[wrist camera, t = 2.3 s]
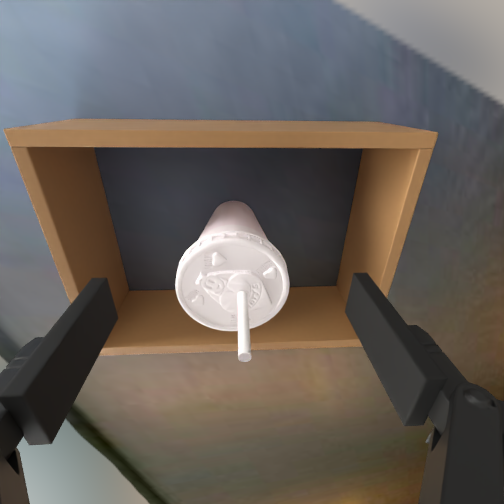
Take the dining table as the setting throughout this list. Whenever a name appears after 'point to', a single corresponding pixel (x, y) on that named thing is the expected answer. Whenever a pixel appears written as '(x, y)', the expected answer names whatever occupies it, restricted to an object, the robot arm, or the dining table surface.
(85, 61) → the dining table surface
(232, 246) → the smoothie
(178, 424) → the dining table surface
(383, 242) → the wooden box
